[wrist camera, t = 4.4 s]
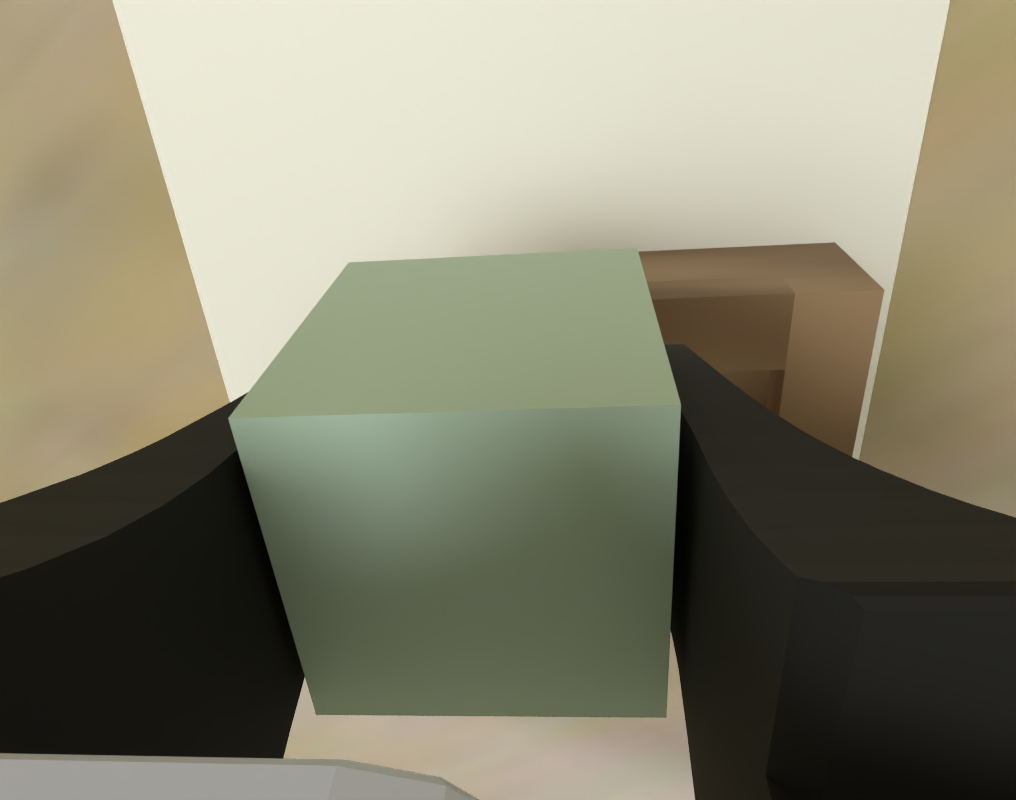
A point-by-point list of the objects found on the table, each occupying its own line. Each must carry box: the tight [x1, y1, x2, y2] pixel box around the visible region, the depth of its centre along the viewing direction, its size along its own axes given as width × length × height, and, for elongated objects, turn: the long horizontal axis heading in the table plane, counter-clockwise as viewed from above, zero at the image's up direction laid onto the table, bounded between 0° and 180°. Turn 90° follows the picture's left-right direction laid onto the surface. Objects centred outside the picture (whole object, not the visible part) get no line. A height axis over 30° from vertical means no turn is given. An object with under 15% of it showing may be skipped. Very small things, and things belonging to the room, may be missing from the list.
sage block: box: [228, 248, 681, 718], centre depth 10 cm, size 4×4×4 cm
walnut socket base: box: [638, 242, 884, 457], centre depth 18 cm, size 9×9×3 cm
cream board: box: [113, 0, 950, 460], centre depth 18 cm, size 22×17×1 cm
